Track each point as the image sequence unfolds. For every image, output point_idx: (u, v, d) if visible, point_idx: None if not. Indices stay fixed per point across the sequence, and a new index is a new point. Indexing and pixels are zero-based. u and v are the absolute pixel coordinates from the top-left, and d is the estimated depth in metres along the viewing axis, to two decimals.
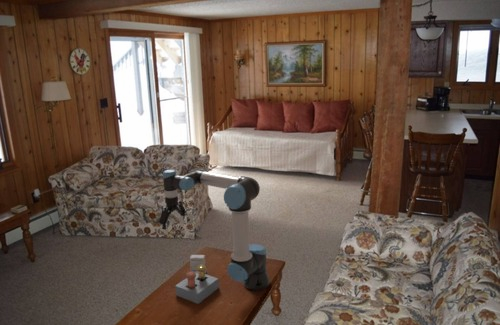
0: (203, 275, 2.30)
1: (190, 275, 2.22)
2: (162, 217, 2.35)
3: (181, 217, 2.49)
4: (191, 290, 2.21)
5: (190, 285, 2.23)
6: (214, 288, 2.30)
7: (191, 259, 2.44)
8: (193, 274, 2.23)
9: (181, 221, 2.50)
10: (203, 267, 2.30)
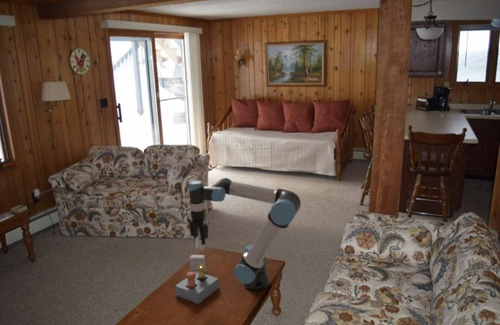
0: (203, 275, 2.30)
1: (190, 275, 2.22)
2: None
3: None
4: (191, 290, 2.21)
5: (190, 285, 2.23)
6: (214, 288, 2.30)
7: (191, 259, 2.44)
8: (193, 274, 2.23)
9: None
10: (203, 267, 2.30)
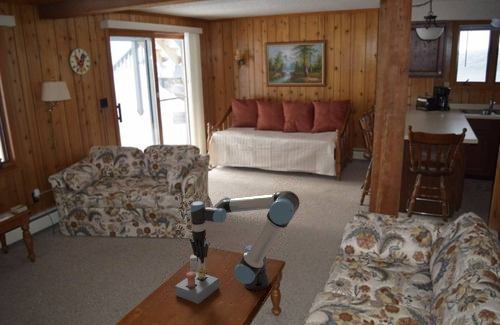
0: (203, 276, 2.31)
1: (190, 275, 2.22)
2: None
3: None
4: (191, 290, 2.21)
5: (190, 285, 2.23)
6: (214, 288, 2.30)
7: (191, 259, 2.44)
8: (193, 274, 2.23)
9: None
10: (203, 268, 2.30)
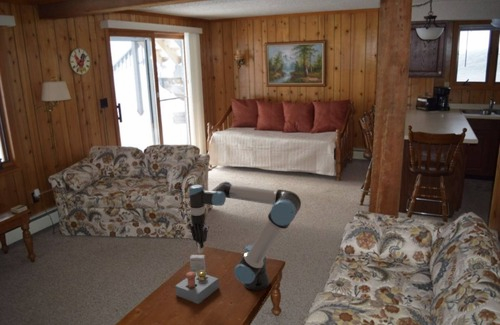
0: (203, 280, 2.31)
1: (190, 275, 2.22)
2: None
3: None
4: (191, 290, 2.21)
5: (190, 285, 2.23)
6: (214, 288, 2.30)
7: (191, 259, 2.44)
8: (193, 274, 2.23)
9: None
10: (203, 272, 2.31)
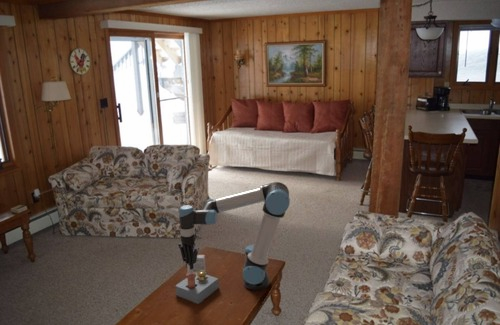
0: (203, 280, 2.31)
1: (190, 275, 2.22)
2: None
3: None
4: (191, 290, 2.21)
5: (190, 285, 2.23)
6: (214, 288, 2.30)
7: None
8: (193, 274, 2.23)
9: None
10: (203, 272, 2.31)
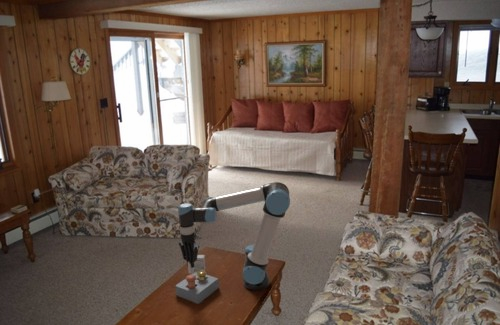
0: (203, 280, 2.31)
1: (190, 278, 2.23)
2: None
3: None
4: (191, 290, 2.21)
5: (190, 288, 2.24)
6: (214, 288, 2.30)
7: None
8: (193, 277, 2.24)
9: None
10: (203, 272, 2.31)
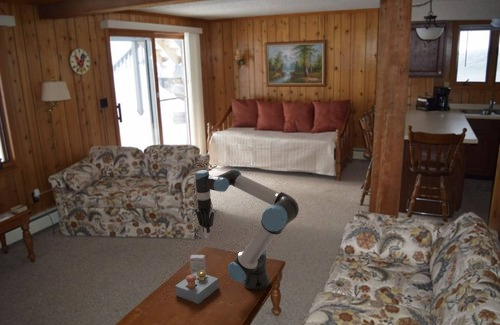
0: (203, 280, 2.31)
1: (190, 278, 2.23)
2: None
3: None
4: (191, 290, 2.21)
5: (190, 288, 2.24)
6: (214, 288, 2.30)
7: (191, 259, 2.44)
8: (193, 277, 2.24)
9: None
10: (203, 272, 2.31)
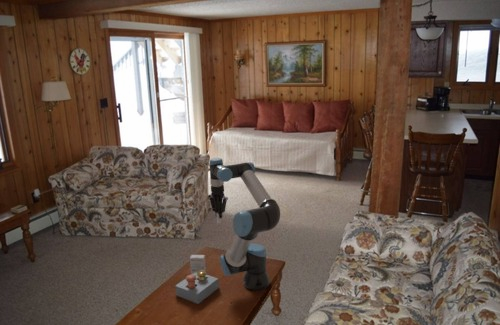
0: (203, 280, 2.31)
1: (190, 278, 2.23)
2: None
3: None
4: (191, 290, 2.21)
5: (190, 288, 2.24)
6: (214, 288, 2.30)
7: (191, 259, 2.44)
8: (193, 277, 2.24)
9: None
10: (203, 272, 2.31)
